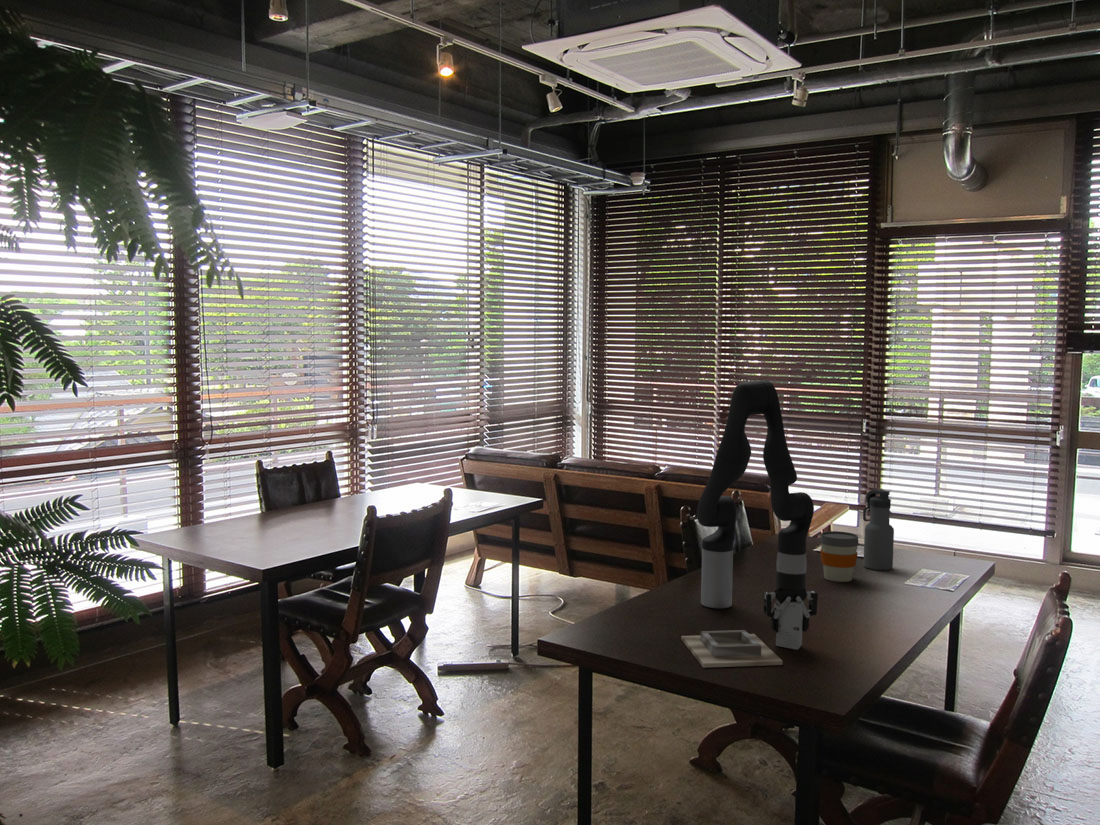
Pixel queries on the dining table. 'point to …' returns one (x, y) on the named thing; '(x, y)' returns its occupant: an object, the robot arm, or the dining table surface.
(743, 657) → the square frame tray
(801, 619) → the skincare box
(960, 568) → the dining table surface
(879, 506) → the water bottle
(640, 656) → the dining table surface
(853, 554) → the reusable coffee cup
